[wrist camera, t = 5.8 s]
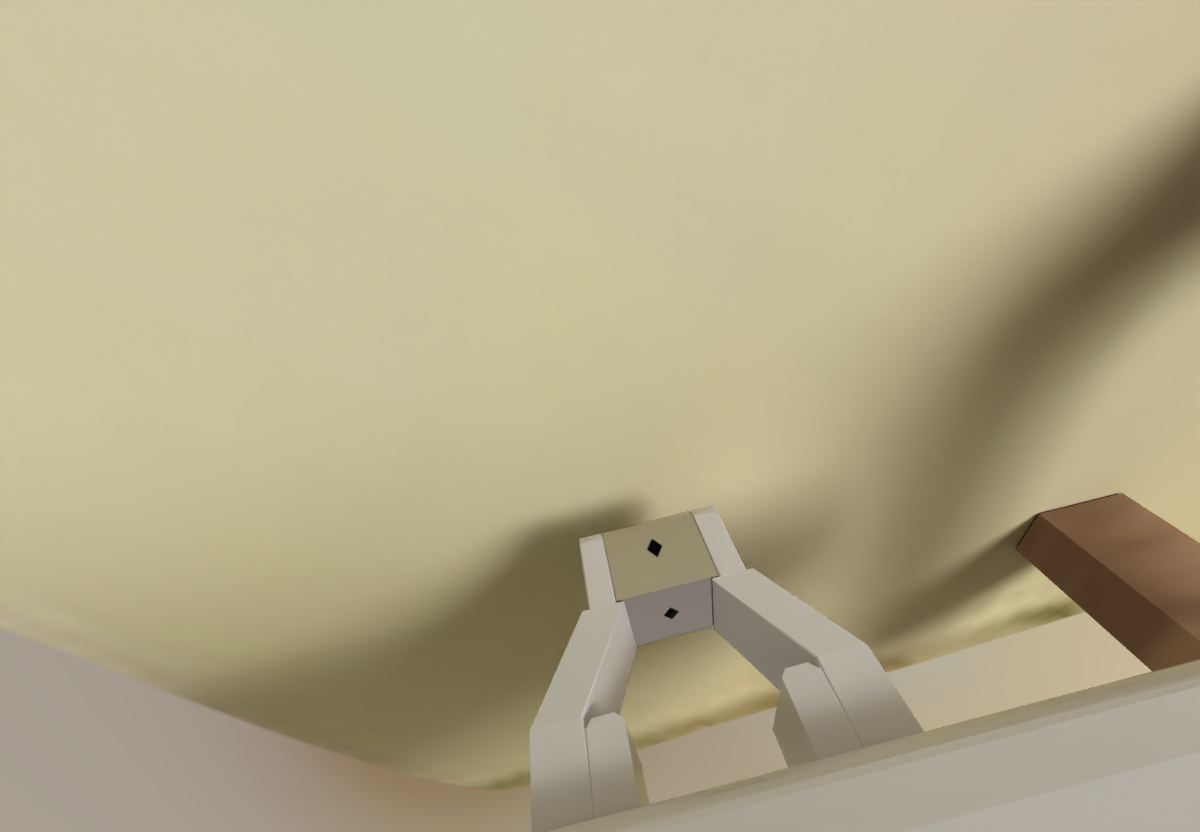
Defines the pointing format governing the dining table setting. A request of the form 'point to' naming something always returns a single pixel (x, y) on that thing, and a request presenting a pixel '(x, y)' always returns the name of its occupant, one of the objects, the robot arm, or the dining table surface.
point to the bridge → (1124, 574)
